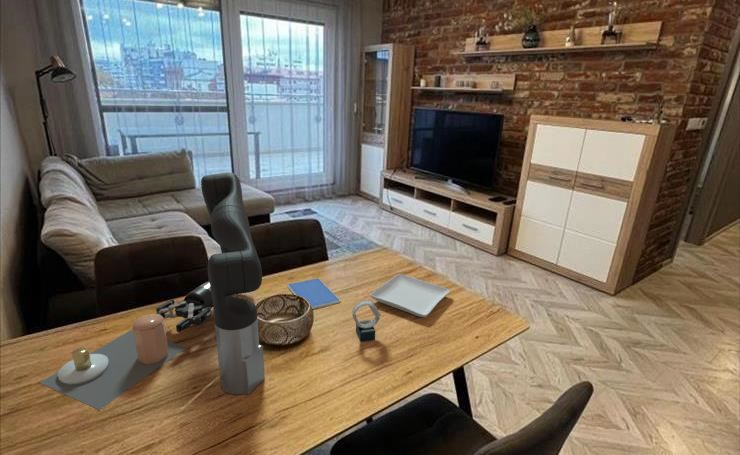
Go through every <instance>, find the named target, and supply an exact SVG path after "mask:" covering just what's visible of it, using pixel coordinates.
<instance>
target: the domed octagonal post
mask: <svg viewBox="0 0 740 455" xmlns="http://www.w3.org/2000/svg"><path fill="white" fill-rule="evenodd" d="M132 329H133V333H134V338H135V344H136V349H137V355H138V360H139V361H140V362H142V363H145V364H150V363H155V362H159V361H161V360H162V359H164V358H165V357H166V356H168V343H167V341H168V338H167V330H166V324H165V319H164V318H163V317H162V316H161V315H159V314H157V313H149V314H145V315H141V316H139V317H138V318H136V319H135V320H134V321H133V322H132Z"/></svg>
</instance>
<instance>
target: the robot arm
mask: <svg viewBox="0 0 740 455" xmlns="http://www.w3.org/2000/svg"><path fill="white" fill-rule="evenodd" d="M240 181H241V180H240V179H239V177H238V175H237V174H235V173H234V172H222V173H215V174H207V175H203V176H202V178H201V180H200V186H201V193H202V197H203V200H204V204H205V206H206V210H207V212H208V215H209V217H210V228H211V229H210V230H211V235H212V237H213V238H214V239H215V241H216V242H217V243H219V247H220V251H221V252H220V253H214V254H211V255H210V256H209V258H208V261H207V275H208V276H207V277H208V281H206V282H204V283H202V284H201V285H199V286H198V287H195V289H192V290H191V291H190V292H188V293H187V294H186V295H185V297H184V299H183V300H181V301H177V302H176V301H175V299H174V298H172V299H169V300H168V301H166V302H164V303H162V304H161V305H159V306H157V307H156V308H155V311H156V314H159V315H161V316H162V317H163V318H164V320H165V319H168V318H169V319H176V318H178V317H179V318H183V320H181V321H179V323H177V324H176V325H175V329H176V330H175V331H176V332H177V333H181V332H182V331H183V332H184V331H185V330H186V329H188V328H189V327H192V326H194V325H195V326H197V327H199V326H201V325H202V324H203V323H205V322H206V321H207V320H208V319H209V318H210V317H212V309H213V321H214V329H215V330H214V332H215V339H216V350H217V359H218V360H217V361H218V369H219V376H220V377H219V378H220V386H221V389H222V390H223V391H224V392H226V393H228V394H231V395H243V394H246V395H250V394H251V393H252V392H253V391H254V390H256V388H257V387H258V386H259V385H260V384H261V383H262V382H263V381H264V380H265V378H266V377H265V361H264V347H263V346H264V345H261V344H260V340H259V339H260V337H259V323H258V309H257V306H256V303H254V302H253V301H252V300H250V299H246V298H242V297H237V296H235V295H241V294H248V293H253V292H255V291H257V290H259V289H260V287H262V286H261V285H262V282H263V272H262V271H263V270H262V265H261V261H260V259H259V256H258V253H257V250H256V247H255V245H254V242H253V238H252V233H251V228H250V222H249V218H248V214H247V211H246V208H245V205H244V199H243V197H244V196H243V189H242V184H241V182H240ZM174 309H175V310H174ZM173 310H174V312H175V313H174V312H173ZM167 313H168V314H167Z"/></svg>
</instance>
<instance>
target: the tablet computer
mask: <svg viewBox="0 0 740 455" xmlns="http://www.w3.org/2000/svg"><path fill="white" fill-rule="evenodd" d="M286 287H287V288H288V290H289V291H290V292H291V294H293V296H294V295H297V296H301V297H303V298H305V299H306V300H307V301H308V302H309V304H310V305H311V307H312V308H313V310H315V309H320V308H324V307H328V306H332V305H336V304H340V303H341V299H340V298H339V297H338V296H337V295H336V294H335V293H334V292H333V291H332V290H331V289H330V288H329V287H328V286H327V285H326V284H325V283H324V282H323V281H322V280H321V279H320V278H318V277H317V278H316V277H315V278H312V279H308V280H303V281H297V282H292V283H288V284H287V285H286Z"/></svg>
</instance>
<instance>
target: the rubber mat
mask: <svg viewBox="0 0 740 455" xmlns="http://www.w3.org/2000/svg"><path fill="white" fill-rule="evenodd" d="M167 343H168V356H166V357H165V358H164V359H162V360H161V361H159V362H155V363H150V364H145V363H142V362H140V361H139V360H138V355H137V349H136V344H135V338H134V333H133V328H132V329H130V330H128V331H126V332H125V333H123V334H122V335H120V336H118V337H116V338H115V339H113V340H111V341H109V342H108V343H106V344H104V345H102V346H101V347H99V348H97V349H95V350H94V351H92V352H89V354H102V355H105V356H106V357H107V358H108V361H109V366H108V368H107V370H106V371H105V372H104V373H103V374H101V375H100V376H98V377H97V378H95V379H93V380H91V381H88V382H85V383H81V384H76V385H66V384H63V383H61V382H60V381H59V378H58V372H59V371H57V372H55V373H54V374H51V376H48V377H47V378H45V379H43V380H41V381H40V382H39V384H41V385H43V386H45V387H47V388H49V389H51V390H54V391H56V392H58V393H60V394H62V395H65V396H67V397H70V398H72V399H74V400H76V401H78V402H80V403H83V404H84V405H87V406H89V407H92V408H94V409H96V410H98V411H100V410H101V409H103V408H104V407H106V406H108V405H109V404H110V403H111V402H113V401H114V400H116V399H117V398H118V397H119V396H121V395H123V394H124V393H126V392H127V391H128V390H130V389H131V388H132V387H134V386H135V385H136V384H138V383H140V382H141V381H142V380H144V379H145V378H146V377H147V376H149V375H151V374H152V373H153V372H155V371H156V370H157V369H159V368H160V367H161V366H163V365H164V364H166V363H167V362H169V361H170V360H172V359H173V358H174V357H176V355H179V353H181V352H183V351H184V350H185V349H186V348H187V349H188V347H187V346H184V345H182V344H179V343H176V342H173V341H170V340H167Z"/></svg>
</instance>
